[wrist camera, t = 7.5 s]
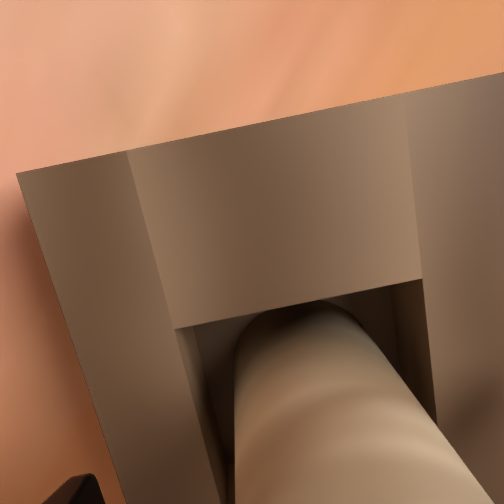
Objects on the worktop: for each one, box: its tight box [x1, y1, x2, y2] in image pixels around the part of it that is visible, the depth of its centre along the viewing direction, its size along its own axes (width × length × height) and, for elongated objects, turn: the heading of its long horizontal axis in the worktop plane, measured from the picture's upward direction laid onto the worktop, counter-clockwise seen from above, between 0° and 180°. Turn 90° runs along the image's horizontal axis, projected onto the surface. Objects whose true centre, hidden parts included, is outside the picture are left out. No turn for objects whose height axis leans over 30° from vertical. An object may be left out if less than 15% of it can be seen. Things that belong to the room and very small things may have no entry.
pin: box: [234, 299, 494, 504], centre depth 7 cm, size 4×4×8 cm
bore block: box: [16, 72, 504, 504], centre depth 10 cm, size 18×12×2 cm, turn 101°
